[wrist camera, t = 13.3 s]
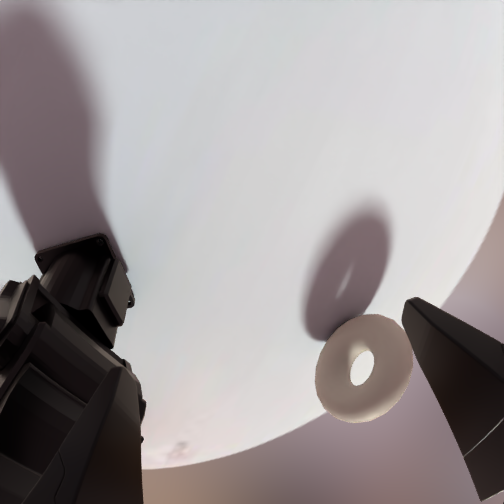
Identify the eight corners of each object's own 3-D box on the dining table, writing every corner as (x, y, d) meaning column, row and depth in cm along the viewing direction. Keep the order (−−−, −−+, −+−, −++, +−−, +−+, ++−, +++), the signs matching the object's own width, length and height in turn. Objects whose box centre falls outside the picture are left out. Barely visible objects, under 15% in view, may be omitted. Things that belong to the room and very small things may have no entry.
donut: (368, 286, 26) (424, 371, 18) (387, 299, 28) (440, 378, 20) (295, 355, 30) (325, 442, 21) (318, 363, 31) (349, 443, 23)
